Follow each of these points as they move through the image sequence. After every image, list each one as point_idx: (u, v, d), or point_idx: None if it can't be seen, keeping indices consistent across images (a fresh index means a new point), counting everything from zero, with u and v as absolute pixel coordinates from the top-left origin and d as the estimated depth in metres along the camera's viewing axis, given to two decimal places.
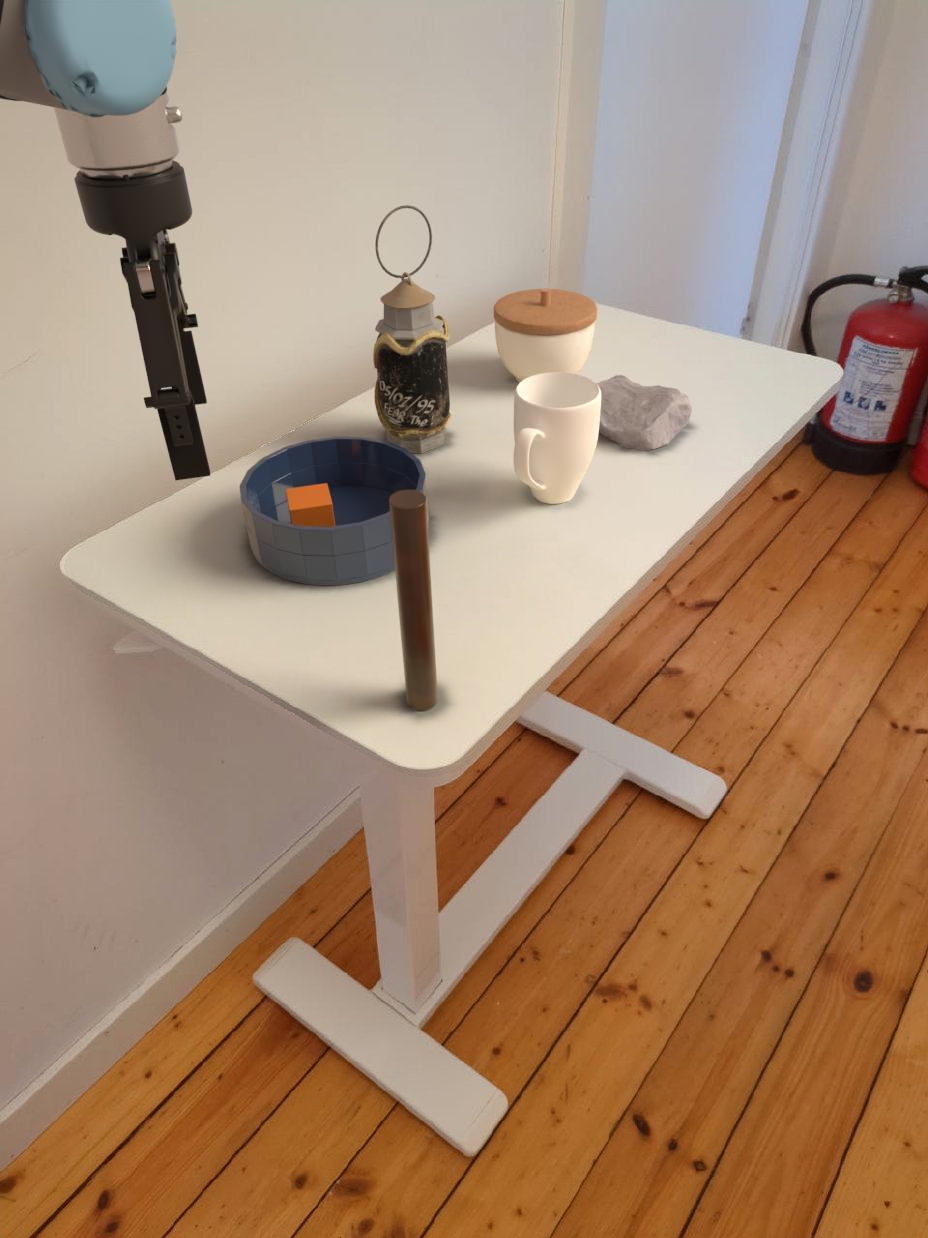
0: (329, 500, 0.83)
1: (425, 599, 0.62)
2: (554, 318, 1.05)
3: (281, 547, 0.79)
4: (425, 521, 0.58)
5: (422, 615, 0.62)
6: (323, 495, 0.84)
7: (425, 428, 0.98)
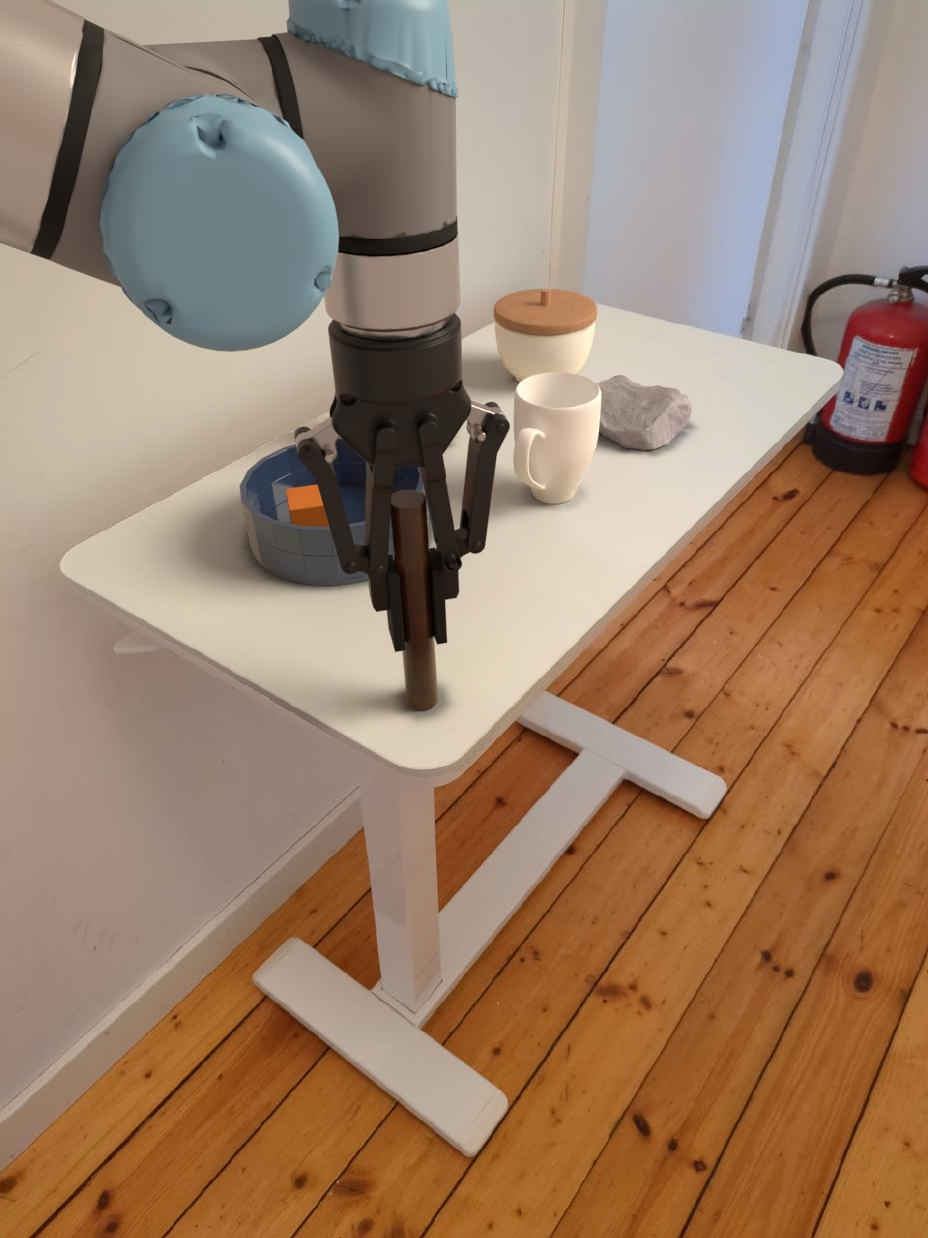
0: None
1: (425, 599, 0.62)
2: (554, 318, 1.05)
3: (281, 547, 0.79)
4: (425, 521, 0.58)
5: (422, 615, 0.62)
6: None
7: None
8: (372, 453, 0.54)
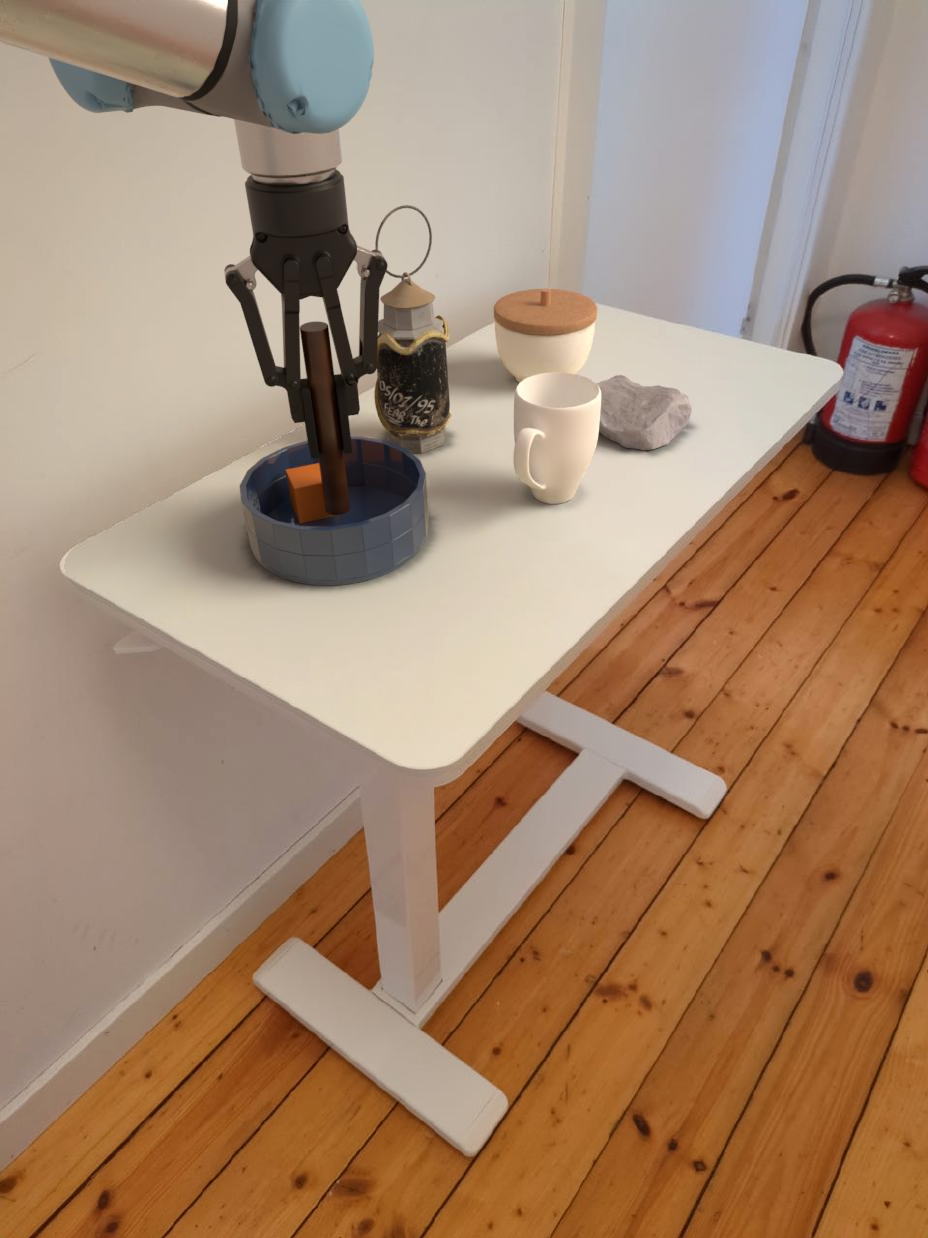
0: None
1: (333, 413, 0.80)
2: (554, 318, 1.05)
3: (281, 547, 0.79)
4: (328, 344, 0.76)
5: (331, 426, 0.80)
6: None
7: (425, 428, 0.98)
8: (282, 283, 0.72)
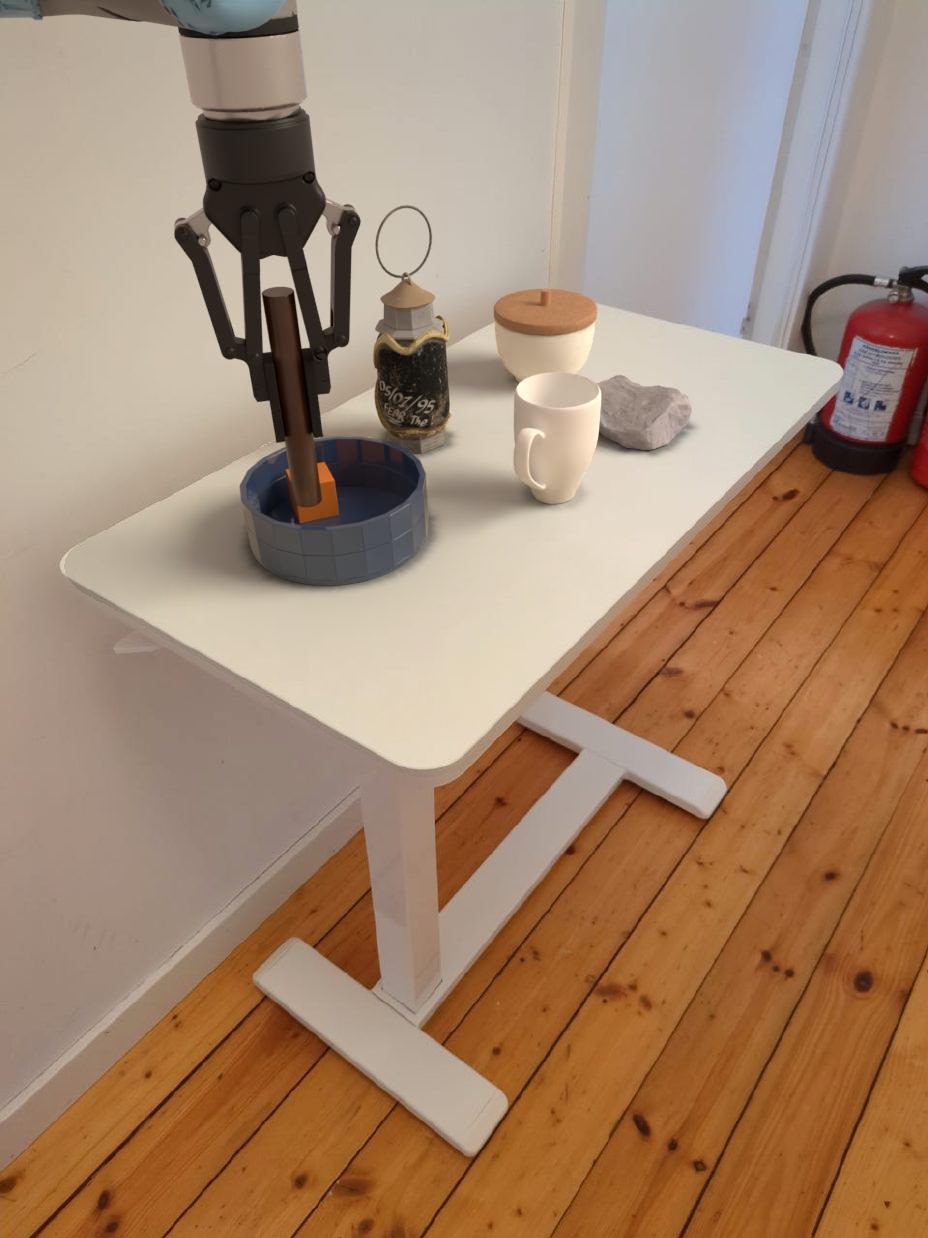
0: (331, 477, 0.87)
1: (300, 391, 0.71)
2: (554, 318, 1.05)
3: (281, 547, 0.79)
4: (294, 312, 0.67)
5: (298, 407, 0.71)
6: (324, 473, 0.87)
7: (425, 428, 0.98)
8: (240, 239, 0.63)
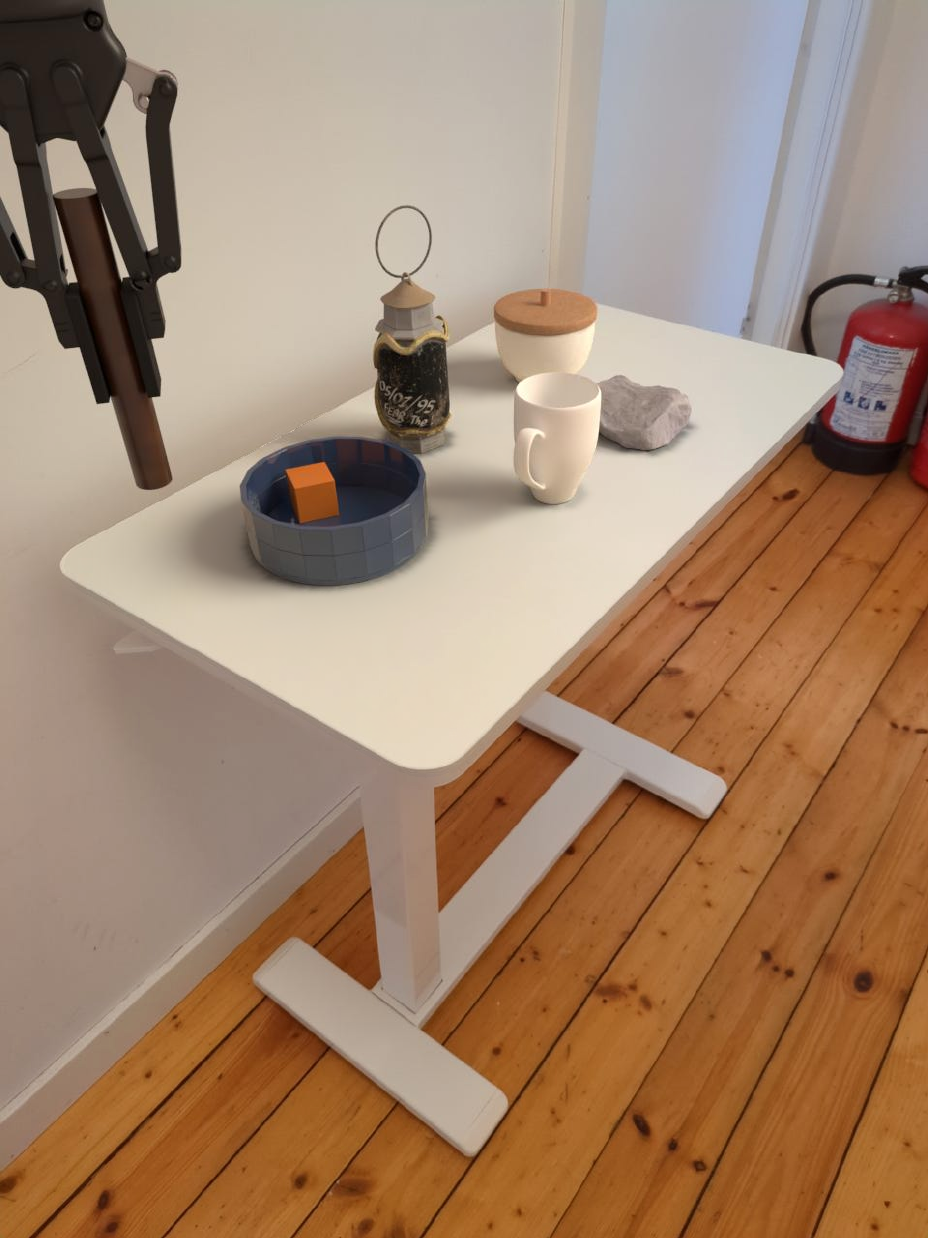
0: (331, 477, 0.87)
1: (121, 333, 0.53)
2: (554, 318, 1.05)
3: (281, 547, 0.79)
4: (100, 222, 0.50)
5: (121, 355, 0.54)
6: (324, 473, 0.87)
7: (425, 428, 0.98)
8: None
